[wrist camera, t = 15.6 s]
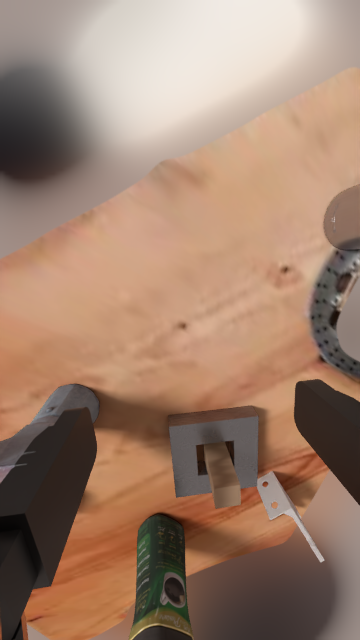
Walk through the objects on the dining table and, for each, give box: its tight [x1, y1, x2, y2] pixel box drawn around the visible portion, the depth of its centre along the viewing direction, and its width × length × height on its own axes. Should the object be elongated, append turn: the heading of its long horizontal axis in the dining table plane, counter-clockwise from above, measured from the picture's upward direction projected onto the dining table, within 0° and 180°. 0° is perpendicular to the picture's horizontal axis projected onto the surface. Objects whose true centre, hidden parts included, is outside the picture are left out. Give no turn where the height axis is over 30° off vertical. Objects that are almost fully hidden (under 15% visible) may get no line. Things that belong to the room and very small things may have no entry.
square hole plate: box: [168, 406, 258, 498], centre depth 41 cm, size 16×16×3 cm
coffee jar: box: [129, 514, 193, 640], centre depth 38 cm, size 10×8×19 cm
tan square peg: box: [203, 441, 241, 509], centre depth 38 cm, size 4×4×10 cm
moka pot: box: [0, 384, 99, 483], centre depth 29 cm, size 10×15×20 cm, turn 28°
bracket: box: [257, 471, 324, 562], centre depth 43 cm, size 11×4×10 cm, turn 32°
